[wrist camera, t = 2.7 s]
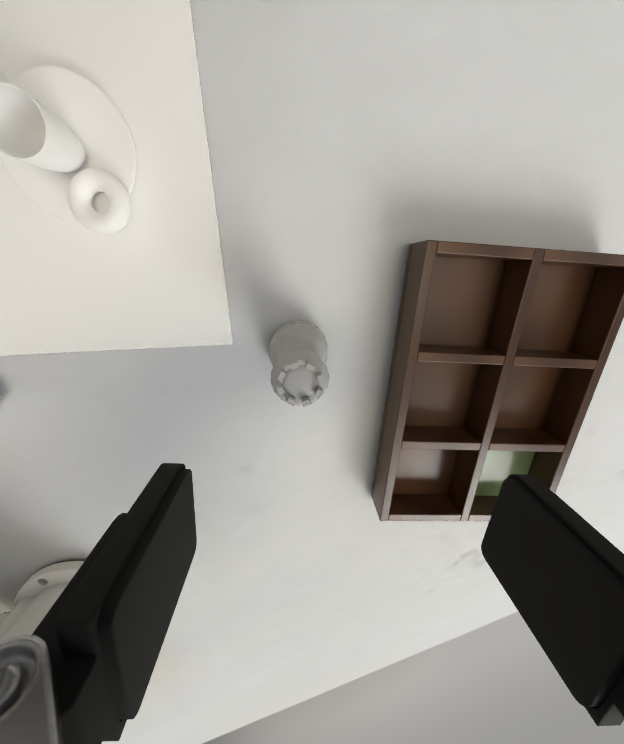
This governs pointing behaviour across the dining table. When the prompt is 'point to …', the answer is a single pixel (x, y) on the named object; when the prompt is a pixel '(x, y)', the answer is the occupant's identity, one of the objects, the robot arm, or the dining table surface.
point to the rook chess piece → (299, 363)
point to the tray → (490, 373)
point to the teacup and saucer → (105, 181)
